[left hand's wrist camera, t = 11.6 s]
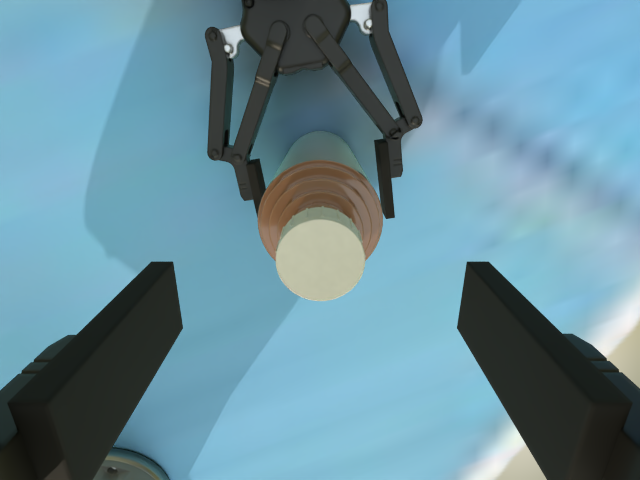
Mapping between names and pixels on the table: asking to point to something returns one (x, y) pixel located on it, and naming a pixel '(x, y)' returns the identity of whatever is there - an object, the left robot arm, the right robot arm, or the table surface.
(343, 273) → the cap
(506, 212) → the table surface
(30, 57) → the table surface
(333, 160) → the bottle
